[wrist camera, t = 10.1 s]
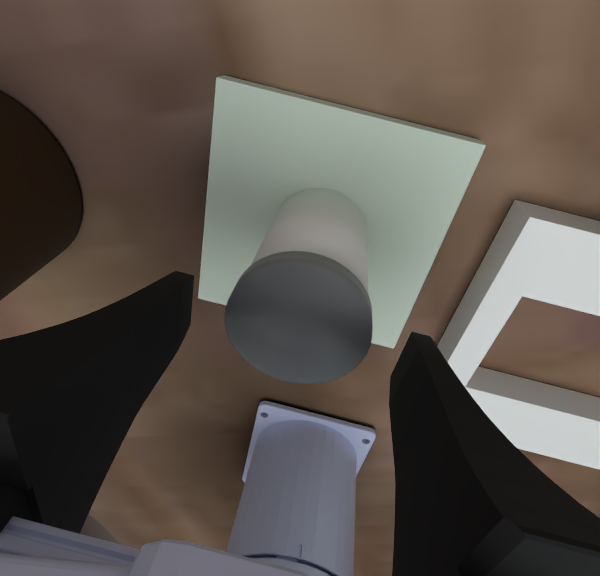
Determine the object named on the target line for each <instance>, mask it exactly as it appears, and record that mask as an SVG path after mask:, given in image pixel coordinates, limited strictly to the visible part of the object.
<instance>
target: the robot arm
mask: <svg viewBox="0 0 600 576" xmlns="http://www.w3.org/2000/svg"><path fill="white" fill-rule="evenodd" d="M193 282H194V275H190V274H186V273H182V272H178V271H175V272H173V273H171V274H169V275H167V276H165V277H163V278H161V279H160V280H158V281H156V282H154V283H152V284H150V285H149V286H147V287H145V288H143V289H141V290H139V291H137V292H135V293H133V294H131V295H130V296H128V297H126V298H123V299H121V300H119V301H117V302H115V303H113V304H110V305H108V306H106V307H104V308H102V309H100V310H97V311H95V312H92V313H90V314H87V315H85V316H82V317H79V318H76V319H74V320H71V321H68V322H65V323H62V324H59V325H55V326H52V327H48V328H45V329H42V330H38V331H35V332H31V333H28V334H24V335H19V336H15V337H11V338H7V339H2V340H0V576H353V571H354V537H355V503H356V476H357V474H358V472H359V470H360V468H361V466H362V464H363V462H364V460H365V458H366V456H367V454H368V452H369V450H370V448H371V446H372V444H373V442H374V440H375V438H376V432H375V430H374V429H372V428H370V427H366V426H362V425H358V424H354V423H350V422H346V421H343V420H339V419H335V418H331V417H327V416H323V415H319V414H316V413H312V412H308V411H304V410H300V409H296V408H292V407H289V406H285V405H281V404H277V403H273V402H269V401H262V402H260V404H259V407H258V411H257V415H256V420H255V424H254V429H253V433H252V437H251V442H250V446H249V451H248V455H247V459H246V464H245V468H244V473H243V477H242V480H243V482H244V483H245V484H244V488H243V492H242V495H241V499H240V503H239V506H238V510H237V514H236V517H235V521H234V524H233V528H232V532H231V535H230V539H229V543H228V546H227V550H226V552H225V551H221V550H218V549H214V548H210V547H206V546H202V545H199V544H195V543H191V542H186V541H178V540H170V539H164V540H159V541H155V542H150V543H148V544H146V545H143V546H142V548H141V550H139V549H135V548H131V547H128V546H124V545H120V544H116V543H112V542H109V541H104V540H101V539H97V538H93V537H89V536H86V535H82V534H80V531H81V529H82V527H83V525H84V522H85V520H86V518H87V515H88V513H89V511H90V509H91V506H92V504H93V502H94V500H95V498H96V496H97V494H98V491H99V489H100V487H101V485H102V483H103V481H104V479H105V476H106V474H107V472H108V470H109V468H110V466H111V464H112V462H113V460H114V458H115V456H116V454H117V452H118V450H119V448H120V446H121V444H122V442H123V440H124V438H125V436H126V434H127V432H128V430H129V428H130V426H131V424H132V422H133V420H134V418H135V417H136V415H137V413H138V411H139V410H140V408H141V406H142V405H143V403H144V401H145V400H146V398H147V397H148V395H149V394H150V392H151V391H152V389H153V388H154V386H155V385H156V383H157V382H158V380H159V379H160V377H161V376H162V374H163V373H164V371H165V370H166V368H167V367H168V365H169V363H170V362H171V360H172V359H173V357H174V356H175V354H176V353H177V351H178V349H179V347H180V345H181V343H182V341H183V339H184V337H185V335H186V333H187V331H188V329H189V326H190V322H191V309H192V296H193ZM389 408H390V420H391V432H392V442H393V453H394V464H395V481H396V488H395V531H394V554H393V572H392V576H600V518H599V517H597V516H596V515H595V514H593V513H592V512H591V511H589V510H588V509H587V508H585V507H584V506H582V505H581V504H580V503H578V502H577V501H576V500H575V499H573V498H572V497H571V496H570V495H569V494H567V493H566V492H565V491H564V490H563V489H561V488H560V487H559V486H558V485H557V484H555V483H554V482H553V481H552V480H551V479H550V478H548V477H547V476H546V475H545V474H544V473H543V472H542V471H540V470H539V469H538V468H537V467H536V466H535V465H534V464H533V463H532V462H531V461H530V460H529V459H528V458H527V457H526V456H525V455H523V454H522V453H521V452H520V451H519V450H518V449H517V448H516V447H515V446H514V445H513V444H512V443H511V442H510V441H509V440H508V439H507V437H506V436H505V435H504V434H503V433H502V432H501V431H500V430H499V429H498V428H497V426H496V425H495V424H494V423H493V422H492V421H491V420H490V419H489V417H488V416H487V415H486V414H485V413H484V411H483V410H482V409H481V408H480V406H479V405H478V404H477V403H476V401H475V400H474V399H473V397H472V396H471V395H470V394H469V392H468V391H467V389H466V388H465V387H464V385H463V384H462V383H461V381H460V380H459V378H458V377H457V375H456V374H455V373H454V371H453V370H452V368H451V367H450V365H449V364H448V362H447V361H446V359H445V358H444V356H443V355H442V353H441V352H440V350H439V349H438V347H437V346H436V344H435V343H434V341H433V340H432V338H431V337H430V336H426V335H422V334H418V333H415V332H411V334H410V336H409V338H408V341H407V343H406V345H405V347H404V349H403V351H402V353H401V355H400V358H399V360H398V362H397V364H396V366H395V368H394V370H393V372H392V375H391V379H390V398H389ZM264 412H265V413H264Z"/></svg>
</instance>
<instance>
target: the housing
mask: <svg viewBox="0 0 600 576" xmlns="http://www.w3.org/2000/svg"><path fill="white" fill-rule="evenodd" d="M522 296H524V297H527V298H531V299H535V300H539V301H543V302H547V303H551V304H555V305H559V306H563V307H566V308H570V309H574V310H578V311H582V312H586V313H590V314H594V315H598V316H600V221H597V220H593V219H589V218H585V217H581V216H578V215H574V214H570V213H566V212H562V211H558V210H554V209H550V208H546V207H542V206H538V205H534V204H530V203H526V202H522V201H518V200H514V202H513V204H512V206H511V208H510V210H509V212H508V214H507V216H506V217H505V219H504V221H503V223H502V225H501V227H500V229H499V231H498V232H497V234H496V236H495V238H494V240H493V242H492V244H491V246H490V247H489V249H488V251H487V253H486V255H485V257H484V259H483V261H482V263H481V264H480V266H479V268H478V270H477V272H476V274H475V276H474V278H473V279H472V281H471V283H470V285H469V287H468V289H467V291H466V293H465V294H464V296H463V298H462V300H461V302H460V304H459V306H458V308H457V310H456V311H455V313H454V315H453V317H452V319H451V321H450V323H449V325H448V326H447V328H446V330H445V332H444V334H443V336H442V338H441V340H440V341H439V343H438V345H437V347H438V349H439V350H440V352H441V353H442V355H443V356H444V358H445V359H446V361H447V362H448V364H449V365H450V367H451V368H452V370H453V371H454V373H455V374H456V375H457V377H458V378H459V380H460V381H461V383H462V384H463V385H464V387H465V388H466V389H467V391H468V392H469V394H470V395H471V396H472V397H473V399H474V400H475V401H476V403H477V404H478V405H479V406H480V408H481V409H482V410H483V411H484V413H485V414H486V415H487V416H488V417H489V419H490V420H491V421H492V422H493V423H494V424H495V425H496V426H497V428H498V429H499V430H500V431H501V432H502V433H503V434H504V435H505V436H506V437H507V439H508V440H509V441H510V442H511V443H512V444H513V445H514V446H515V447H516V448H518V449H522V450H526V451H530V452H534V453H538V454H541V455H545V456H549V457H553V458H557V459H561V460H565V461H568V462H572V463H576V464H580V465H584V466H588V467H592V468H596V469H599V470H600V398H599V397H595V396H592V395H588V394H584V393H580V392H576V391H572V390H568V389H564V388H560V387H557V386H553V385H549V384H545V383H541V382H537V381H533V380H529V379H526V378H522V377H518V376H514V375H510V374H506V373H502V372H498V371H494V370H491V369H487V368H483V367H479V364H480V362H481V361H482V359H483V358H484V356H485V354H486V353H487V351H488V350H489V348H490V347H491V345H492V343H493V342H494V340H495V339H496V337H497V335H498V334H499V332H500V331H501V329H502V328H503V326H504V324H505V323H506V321H507V320H508V318H509V316H510V315H511V313H512V312H513V310H514V309H515V307H516V305H517V304H518V302H519V301H520V299H521V297H522Z"/></svg>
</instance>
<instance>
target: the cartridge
mask: <svg viewBox="0 0 600 576" xmlns="http://www.w3.org/2000/svg"><path fill="white" fill-rule="evenodd" d="M225 327H226V331H227V334H228V337H229V339H230V341H231V343H232V345H233V346H234V348H235V349H236V351H237V352H238V353H239V354H240V356H241V357H242V358H243V359H244V360H245V361H246V362H248V363H249V364H250V365H251V366H253V367H254V368H256V369H257V370H259V371H261V372H262V373H264V374H266V375H268V376H271V377H273V378H276V379H279V380H283V381H286V382H292V383H300V384H314V383H322V382H327V381H331V380H334V379H337V378H339V377H341V376H343V375H345V374H347V373H348V372H350V371H352V370H353V369H354V368H355V367H356V366H358V364H359V363H360V362H361V361H362V360H363V359H364V357H365V355H366V354H367V352H368V350H369V347H370V345H371V340H372V331H373V326H372V305H371V302H370V298H369V296H368V226H367V222H366V219H365V217H364V215H363V213H362V211H361V210H360V208H359V207H358V206H357V205H356V204H355V203H354V202H353V201H352V200H351V199H350V198H348V197H347V196H345V195H343V194H342V193H339V192H337V191H334V190H330V189H324V188H313V189H307V190H303V191H301V192H298V193H296V194H294V195H293V196H291V197H290V198H288V199H287V200H286V201H285V202H284V203H283V204H282V205H281V207H280V208H279V210H278V212H277V213H276V215H275V217H274V219H273V221H272V223H271V225H270V227H269V229H268V231H267V233H266V235H265V237H264V239H263V241H262V243H261V245H260V247H259V249H258V251H257V253H256V255H255V257H254V259H253V262H252V264H251V266H249V267H248V268H247V269H246V270H245V271H244V273H243V274H242V275H241V277H240V278H239V280H238V282H237V284H236V285H235V287H234V289H233V291H232V293H231V295H230V297H229V299H228V302H227V305H226V308H225Z"/></svg>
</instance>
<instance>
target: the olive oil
mask: <svg viewBox="0 0 600 576" xmlns="http://www.w3.org/2000/svg"><path fill="white" fill-rule="evenodd" d="M81 217H82V202H81V195H80V190H79V186H78V182H77V179H76V177H75V174H74V171H73V169H72V167H71V165H70V163H69V161H68V159H67V157H66V155H65V154H64V152H63V150H62V149H61V147H60V146H59V144H58V143H57V142H56V140H55V139H54V138H53V136H52V135H51V134H50V133H49V131H48V130H47V129H46V128H45V127H44V126H43V125H42V124H41V123H40V122H39V121H38V120H37V119H36V118H35V117H34V116H33V115H32V114H31V113H30V112H29V111H27V110H26V109H25V108H24V107H22V106H21V105H20V104H18V103H17V102H16V101H14V100H13V99H11V98H10V97H8V96H6V95H5V94H3V93H1V92H0V300H2V299H3V298H4V297H5V296H7V295H8V294H9V293H10V292H12V291H13V290H14V289H16V288H17V287H18V286H19V285H21V284H22V283H23V282H25V281H26V280H27V279H28V278H30V277H31V276H32V275H34V274H35V273H36V272H37V271H39V270H40V269H41V268H43V267H44V266H45V265H46V264H48V263H49V262H50V261H52V260H53V259H54V258H55V257H57V256H58V255H59V254H60V253H62V252H63V251H64V250H65V249H66V248H67V247H68V246H69V245H70V244H71V242H72V241H73V240H74V238H75V236H76V235H77V232H78V230H79V227H80V223H81Z"/></svg>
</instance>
